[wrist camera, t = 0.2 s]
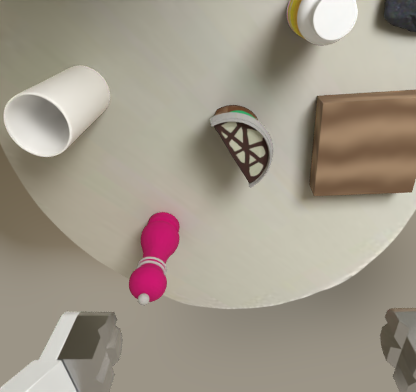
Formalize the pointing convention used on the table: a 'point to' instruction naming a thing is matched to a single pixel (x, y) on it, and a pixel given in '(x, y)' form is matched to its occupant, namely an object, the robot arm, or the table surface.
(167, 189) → the table surface
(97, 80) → the cup
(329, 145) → the walnut base
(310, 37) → the supplement bottle
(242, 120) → the food container
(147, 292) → the pepper mill
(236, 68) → the table surface
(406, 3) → the folded dark cloth
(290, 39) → the table surface
